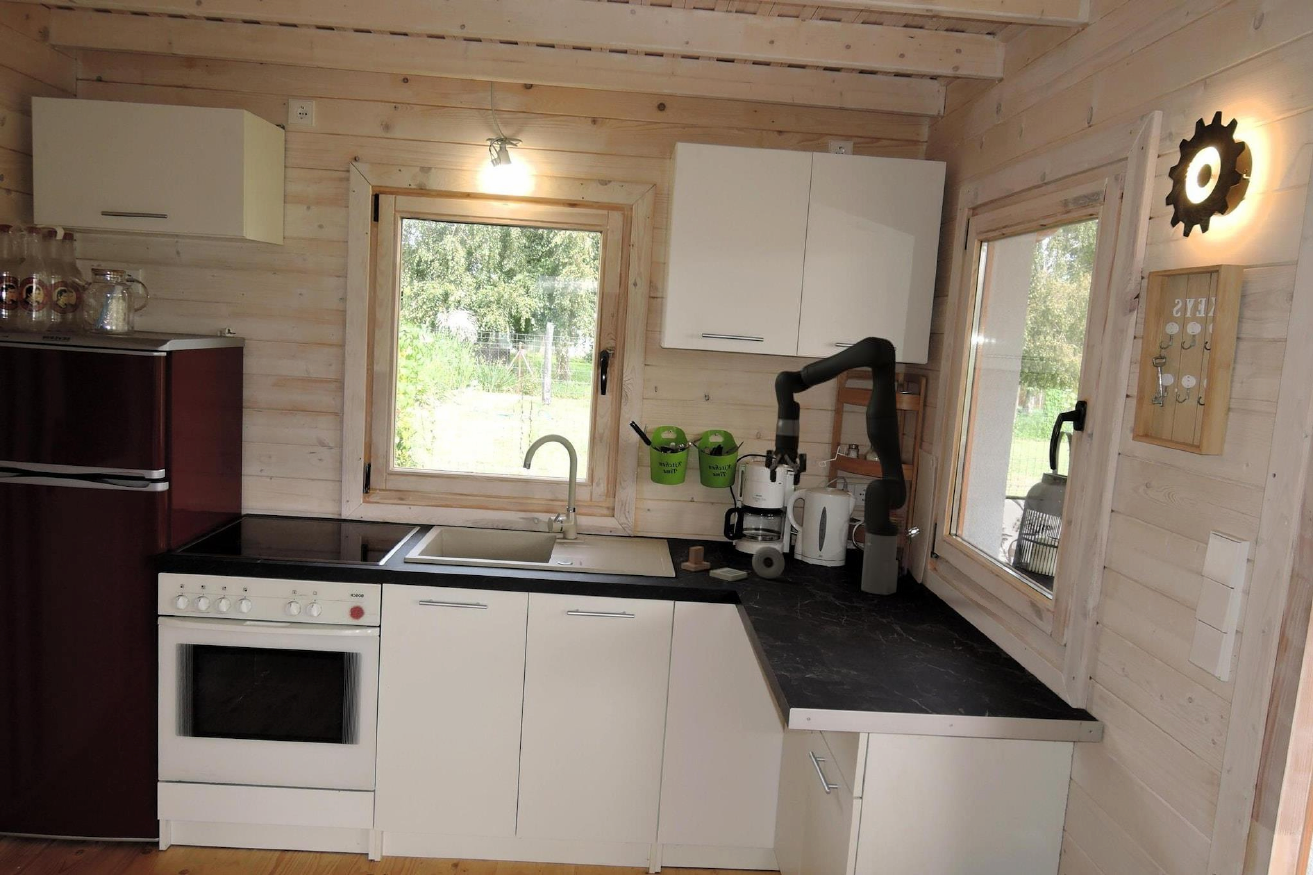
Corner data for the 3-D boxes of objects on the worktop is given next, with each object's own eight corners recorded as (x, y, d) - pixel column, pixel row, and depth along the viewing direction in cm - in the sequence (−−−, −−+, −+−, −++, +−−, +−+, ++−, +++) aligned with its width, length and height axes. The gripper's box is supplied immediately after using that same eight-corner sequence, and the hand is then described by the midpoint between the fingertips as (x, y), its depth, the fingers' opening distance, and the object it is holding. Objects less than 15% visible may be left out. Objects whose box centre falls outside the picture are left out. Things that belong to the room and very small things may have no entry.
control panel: (746, 577, 281) (747, 572, 281) (730, 581, 275) (730, 575, 275) (725, 572, 286) (726, 567, 286) (709, 575, 280) (709, 570, 280)
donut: (749, 577, 281) (751, 544, 280) (752, 575, 284) (755, 543, 284) (781, 582, 277) (784, 549, 277) (784, 580, 281) (787, 547, 280)
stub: (709, 568, 290) (711, 547, 290) (693, 571, 284) (694, 550, 284) (697, 564, 294) (698, 544, 293) (681, 568, 288) (682, 547, 287)
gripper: (812, 435, 295) (809, 485, 297) (775, 431, 305) (772, 480, 306) (800, 435, 290) (797, 487, 291) (762, 431, 299) (759, 481, 300)
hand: (784, 483), depth 298 cm, fingers open, 8 cm apart
